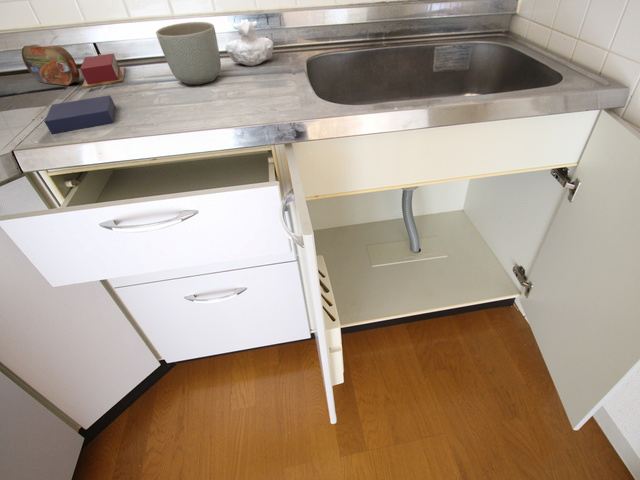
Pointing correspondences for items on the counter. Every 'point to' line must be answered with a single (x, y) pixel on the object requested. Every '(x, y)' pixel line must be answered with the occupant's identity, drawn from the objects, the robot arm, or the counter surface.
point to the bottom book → (80, 114)
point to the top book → (100, 68)
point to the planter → (191, 51)
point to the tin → (50, 64)
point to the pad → (120, 79)
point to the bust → (249, 45)
